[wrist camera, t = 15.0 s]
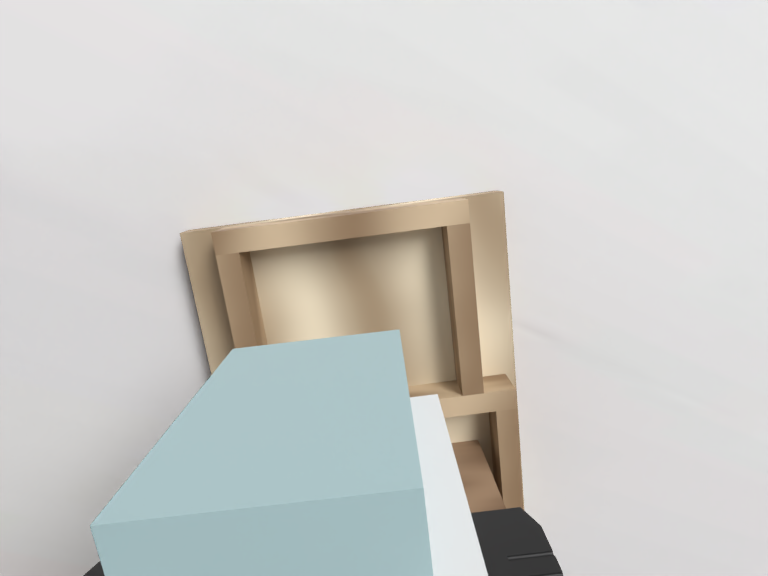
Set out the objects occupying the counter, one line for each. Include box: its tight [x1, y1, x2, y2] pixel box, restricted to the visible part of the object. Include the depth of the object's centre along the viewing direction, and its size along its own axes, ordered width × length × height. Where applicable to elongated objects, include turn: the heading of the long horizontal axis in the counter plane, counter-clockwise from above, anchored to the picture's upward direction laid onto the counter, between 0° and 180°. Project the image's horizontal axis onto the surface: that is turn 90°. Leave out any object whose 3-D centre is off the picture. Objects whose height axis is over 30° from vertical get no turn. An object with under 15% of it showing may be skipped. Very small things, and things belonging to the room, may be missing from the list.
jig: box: [180, 191, 524, 510], centre depth 25 cm, size 15×20×3 cm
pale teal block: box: [90, 329, 433, 576], centre depth 9 cm, size 4×6×6 cm, turn 7°
